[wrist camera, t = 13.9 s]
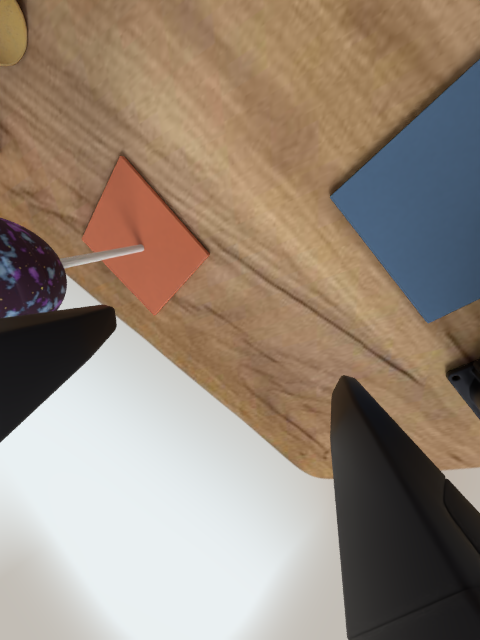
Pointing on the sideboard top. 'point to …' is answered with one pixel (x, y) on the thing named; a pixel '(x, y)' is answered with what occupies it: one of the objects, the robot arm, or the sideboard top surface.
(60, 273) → the lollipop
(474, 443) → the sideboard top surface
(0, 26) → the kendama
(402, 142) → the slate pad
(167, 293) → the terracotta pad
